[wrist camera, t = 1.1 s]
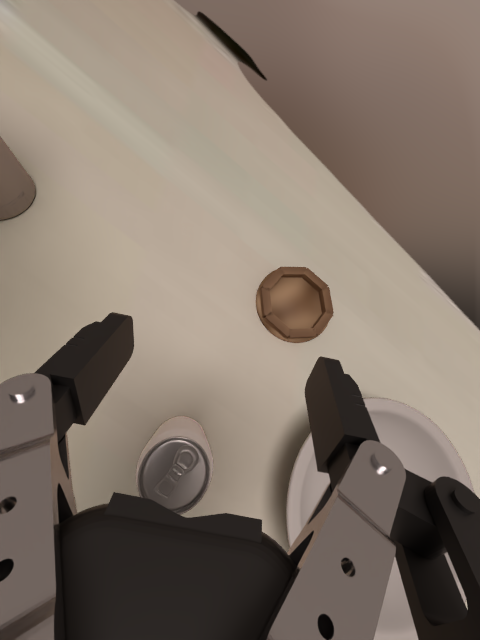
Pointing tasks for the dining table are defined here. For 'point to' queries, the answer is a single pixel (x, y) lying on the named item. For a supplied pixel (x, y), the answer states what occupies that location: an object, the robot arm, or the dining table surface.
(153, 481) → the can
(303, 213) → the dining table surface
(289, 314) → the octagonal wooden coaster
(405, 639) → the soup bowl
